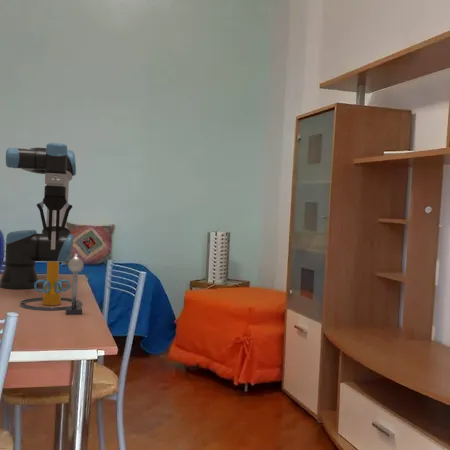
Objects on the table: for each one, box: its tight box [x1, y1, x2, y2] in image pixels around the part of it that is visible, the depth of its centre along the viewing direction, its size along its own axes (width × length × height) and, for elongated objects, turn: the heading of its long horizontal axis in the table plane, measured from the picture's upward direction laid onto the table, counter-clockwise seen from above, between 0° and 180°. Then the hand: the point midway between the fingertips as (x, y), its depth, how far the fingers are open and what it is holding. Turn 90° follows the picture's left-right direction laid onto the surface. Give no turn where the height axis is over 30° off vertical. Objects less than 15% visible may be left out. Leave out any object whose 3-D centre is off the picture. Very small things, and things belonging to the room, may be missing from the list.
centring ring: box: [18, 296, 84, 311], centre depth 199 cm, size 21×21×1 cm
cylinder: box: [33, 261, 71, 306], centre depth 199 cm, size 12×10×15 cm
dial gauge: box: [65, 253, 85, 316], centre depth 188 cm, size 8×5×20 cm, turn 18°
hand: (53, 249), depth 210 cm, fingers closed
